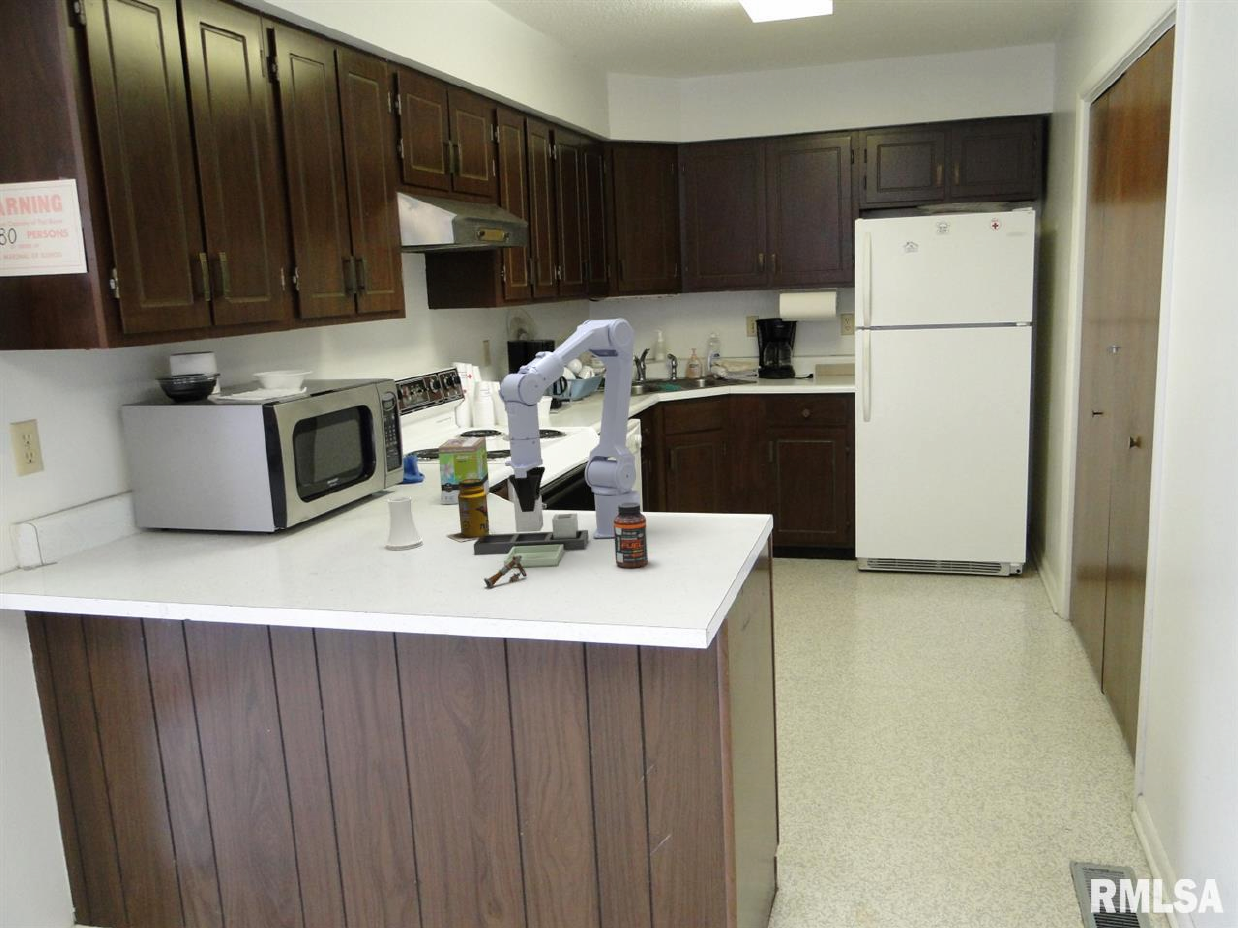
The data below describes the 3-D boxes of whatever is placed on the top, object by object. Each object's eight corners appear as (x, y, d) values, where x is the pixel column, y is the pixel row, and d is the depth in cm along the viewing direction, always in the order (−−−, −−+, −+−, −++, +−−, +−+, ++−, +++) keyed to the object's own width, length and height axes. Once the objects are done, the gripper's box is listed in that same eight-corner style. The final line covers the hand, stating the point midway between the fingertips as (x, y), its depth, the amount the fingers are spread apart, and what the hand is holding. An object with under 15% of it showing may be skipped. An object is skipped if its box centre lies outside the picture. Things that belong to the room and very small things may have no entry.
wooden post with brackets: (532, 573, 177) (522, 552, 176) (499, 600, 174) (488, 579, 172) (527, 571, 179) (516, 551, 177) (493, 598, 175) (482, 577, 173)
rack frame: (588, 539, 202) (588, 529, 202) (584, 549, 194) (584, 539, 194) (482, 544, 204) (481, 534, 203) (474, 554, 196) (473, 544, 196)
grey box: (543, 525, 191) (541, 494, 190) (539, 531, 186) (537, 499, 185) (520, 526, 191) (517, 495, 190) (516, 532, 187) (513, 500, 186)
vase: (430, 542, 208) (425, 496, 206) (404, 551, 202) (399, 504, 200) (404, 539, 212) (399, 494, 211) (378, 548, 206) (373, 501, 204)
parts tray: (563, 551, 194) (563, 544, 193) (557, 566, 184) (556, 558, 184) (513, 554, 194) (512, 546, 194) (504, 568, 185) (503, 560, 184)
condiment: (497, 535, 211) (492, 480, 209) (460, 542, 207) (455, 486, 205) (482, 529, 217) (477, 475, 215) (446, 536, 213) (441, 482, 211)
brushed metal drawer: (579, 542, 201) (577, 512, 200) (576, 548, 196) (574, 517, 195) (557, 543, 201) (554, 513, 200) (554, 549, 197) (552, 519, 195)
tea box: (482, 503, 245) (476, 444, 243) (441, 505, 246) (436, 446, 243) (490, 491, 260) (485, 435, 258) (452, 493, 261) (447, 437, 258)
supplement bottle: (621, 570, 178) (616, 509, 176) (612, 562, 184) (608, 503, 182) (652, 566, 180) (649, 505, 178) (643, 558, 185) (639, 499, 183)
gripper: (510, 433, 193) (516, 501, 195) (496, 444, 179) (502, 518, 181) (546, 431, 192) (551, 499, 195) (534, 442, 178) (540, 516, 181)
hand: (530, 508), depth 188 cm, fingers closed on grey box, 4 cm apart
